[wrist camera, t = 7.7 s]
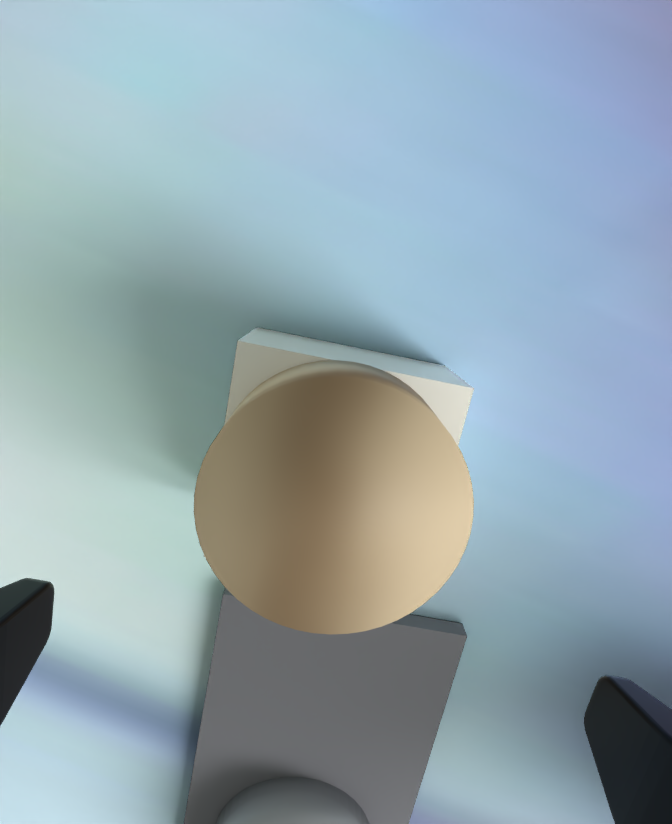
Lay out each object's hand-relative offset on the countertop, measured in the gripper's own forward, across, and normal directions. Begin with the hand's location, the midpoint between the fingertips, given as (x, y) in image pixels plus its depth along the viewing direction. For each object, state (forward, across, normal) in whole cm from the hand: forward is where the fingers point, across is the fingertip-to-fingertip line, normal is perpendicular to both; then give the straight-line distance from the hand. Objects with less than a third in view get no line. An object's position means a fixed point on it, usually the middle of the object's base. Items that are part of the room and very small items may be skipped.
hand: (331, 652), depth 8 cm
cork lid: (+8, 0, 0) cm, 8 cm away
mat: (+12, -2, +15) cm, 19 cm away
